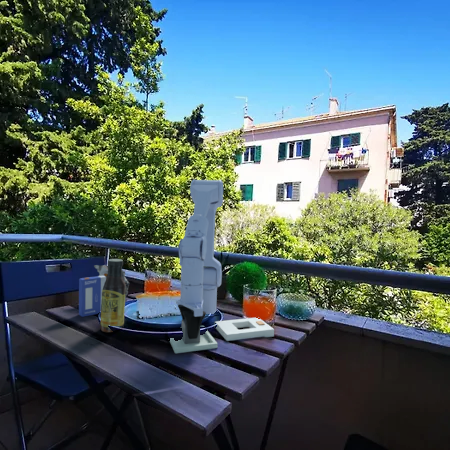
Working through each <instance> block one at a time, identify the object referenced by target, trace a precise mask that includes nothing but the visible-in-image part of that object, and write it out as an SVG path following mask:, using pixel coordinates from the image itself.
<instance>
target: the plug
mask: <svg viewBox="0 0 450 450" xmlns="http://www.w3.org/2000/svg"><path fill="white" fill-rule="evenodd" d="M181 328H182V332H183V337H182V340H183V342H184V344H190V343H198V342H200V329H199V333H198V337H197V338H196V339H189V337H188V332H187V324H186V320H185V319H181Z"/></svg>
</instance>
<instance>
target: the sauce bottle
mask: <svg viewBox="0 0 450 450" xmlns="http://www.w3.org/2000/svg"><path fill="white" fill-rule="evenodd" d="M123 265H124V261H123V259H121V258H120V259H119V258H110V259H108V260H107V266H108V275H107V278H106V281H105V284H104V287H103V289H102V303H101V313H100V330H101V331H102V332H104V333H114V332H113V331H112V330H111V329H110V328H109V327H108V326H109V325H110V326H123V327H124V324H125V309H126V302H125V300H126V298H125V297H126V296H125V295H126V292H125V284H126V283H125V282H124V280H123V278H122V270H123Z"/></svg>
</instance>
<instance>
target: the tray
mask: <svg viewBox="0 0 450 450" xmlns="http://www.w3.org/2000/svg"><path fill="white" fill-rule="evenodd" d="M200 327H205V325H201V326H200ZM169 343H170V346H171V347H172V350H173V352H174V354H182V353H190V352H196V351H197V352H198V351H206V350H211V349H218V348H219V347H218V341H216V340H215V338H214V337H213V336H212V334H211V332H209V331H208V330H207V331H206V332H205V334H203V335H200V342H198V343H190V344H184V342H183V340H182V339H181V340H178V341H175V340H174V338H170V341H169Z"/></svg>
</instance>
